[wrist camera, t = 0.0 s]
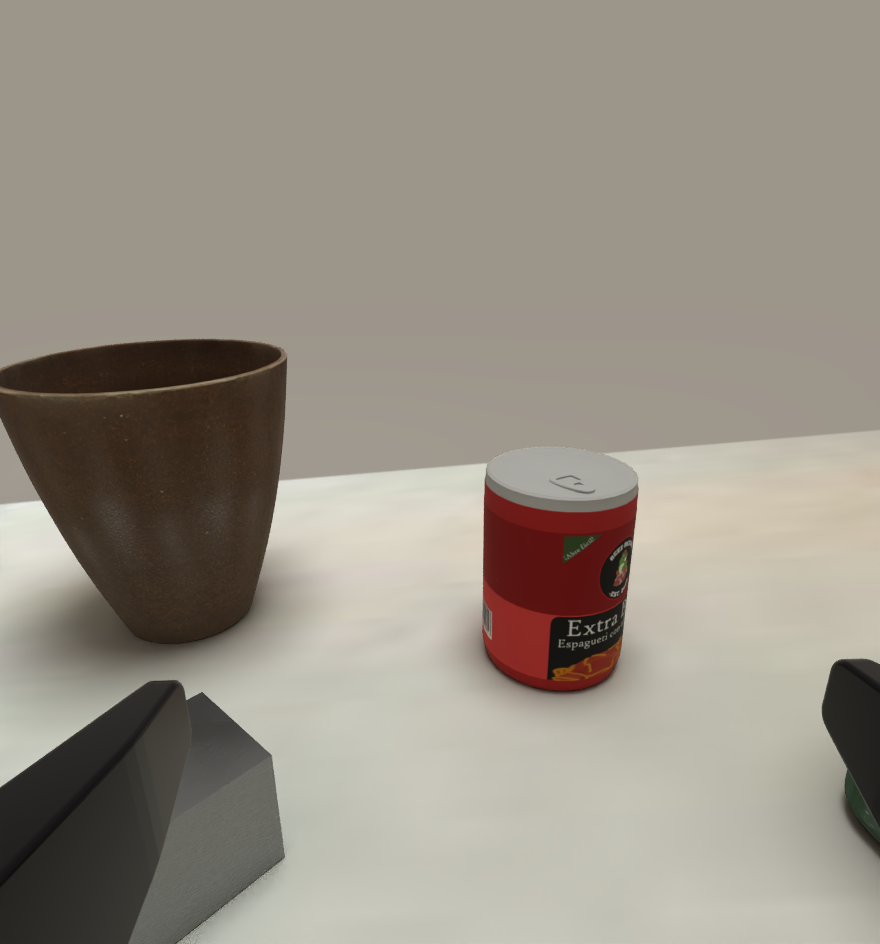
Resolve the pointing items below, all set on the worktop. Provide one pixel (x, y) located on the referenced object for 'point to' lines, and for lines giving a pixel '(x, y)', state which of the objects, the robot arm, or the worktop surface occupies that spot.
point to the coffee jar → (860, 807)
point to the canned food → (557, 564)
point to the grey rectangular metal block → (213, 828)
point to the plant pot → (157, 471)
